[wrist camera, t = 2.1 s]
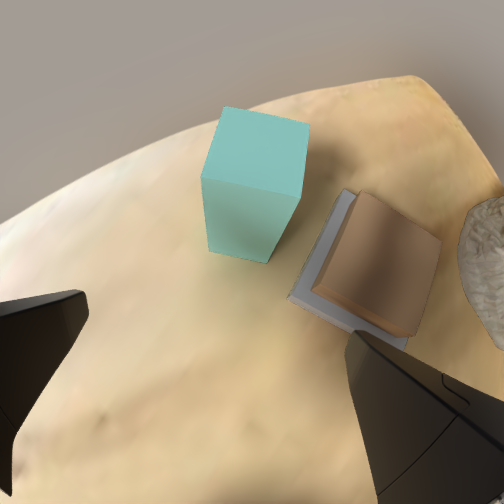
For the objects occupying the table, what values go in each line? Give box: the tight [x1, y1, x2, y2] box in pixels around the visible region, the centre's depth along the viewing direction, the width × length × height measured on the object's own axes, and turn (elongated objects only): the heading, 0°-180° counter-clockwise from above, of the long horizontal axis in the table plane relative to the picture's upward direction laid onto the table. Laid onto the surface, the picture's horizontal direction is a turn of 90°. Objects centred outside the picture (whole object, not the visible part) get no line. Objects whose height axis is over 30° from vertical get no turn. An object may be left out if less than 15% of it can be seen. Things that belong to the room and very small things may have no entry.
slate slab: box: [287, 189, 409, 351], centre depth 24 cm, size 10×10×2 cm
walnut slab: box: [310, 190, 442, 338], centre depth 21 cm, size 8×8×2 cm
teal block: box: [201, 106, 310, 264], centre depth 19 cm, size 4×4×11 cm
